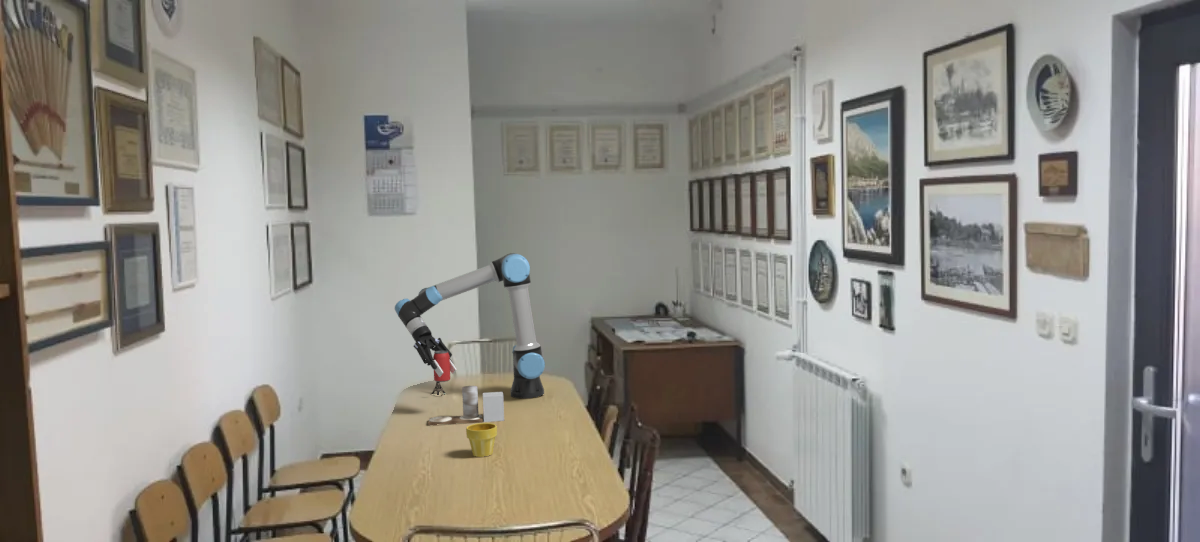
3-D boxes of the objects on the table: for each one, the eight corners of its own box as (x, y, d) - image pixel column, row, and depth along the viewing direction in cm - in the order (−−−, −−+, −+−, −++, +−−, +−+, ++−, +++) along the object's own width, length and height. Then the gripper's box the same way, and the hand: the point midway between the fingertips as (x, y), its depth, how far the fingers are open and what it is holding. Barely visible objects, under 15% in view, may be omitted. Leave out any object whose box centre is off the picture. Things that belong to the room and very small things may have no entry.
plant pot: (469, 460, 288) (468, 431, 287) (465, 452, 298) (464, 424, 297) (500, 457, 290) (498, 428, 290) (495, 449, 300) (494, 421, 300)
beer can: (452, 379, 356) (451, 350, 355) (447, 382, 349) (446, 352, 348) (436, 379, 356) (435, 350, 356) (432, 382, 350) (430, 352, 349)
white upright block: (503, 416, 350) (502, 391, 349) (504, 420, 342) (503, 395, 341) (483, 417, 348) (482, 392, 348) (483, 422, 341) (482, 397, 340)
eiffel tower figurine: (420, 398, 391) (419, 369, 390) (422, 394, 401) (421, 365, 400) (454, 397, 392) (452, 368, 392) (455, 392, 403) (453, 364, 402)
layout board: (482, 417, 349) (481, 384, 348) (482, 422, 340) (481, 388, 339) (429, 420, 346) (428, 387, 345) (428, 425, 337) (426, 392, 336)
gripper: (432, 333, 369) (461, 375, 360) (397, 339, 353) (425, 383, 344) (441, 322, 365) (469, 363, 356) (405, 327, 349) (434, 371, 341)
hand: (448, 373), depth 350 cm, fingers closed on beer can, 6 cm apart
